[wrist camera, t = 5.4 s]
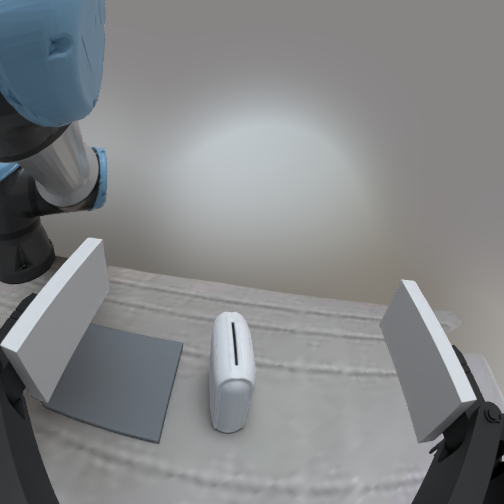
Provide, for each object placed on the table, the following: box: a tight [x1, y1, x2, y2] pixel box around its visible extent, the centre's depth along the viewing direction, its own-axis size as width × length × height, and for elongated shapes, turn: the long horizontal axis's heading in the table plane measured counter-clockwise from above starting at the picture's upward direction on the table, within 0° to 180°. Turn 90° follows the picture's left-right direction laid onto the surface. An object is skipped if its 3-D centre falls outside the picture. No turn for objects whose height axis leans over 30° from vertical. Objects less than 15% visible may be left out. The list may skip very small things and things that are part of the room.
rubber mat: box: [42, 323, 183, 444], centre depth 35 cm, size 16×16×1 cm
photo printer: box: [209, 312, 255, 433], centre depth 33 cm, size 10×4×12 cm, turn 6°
